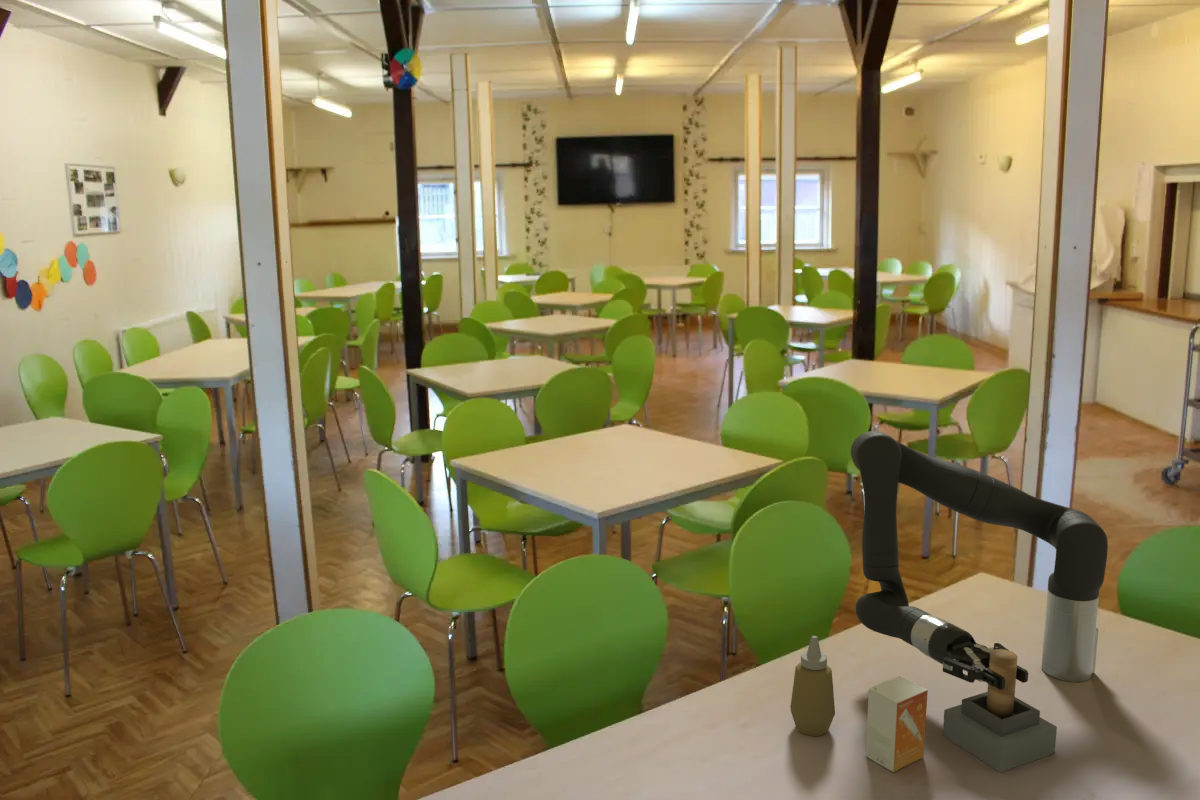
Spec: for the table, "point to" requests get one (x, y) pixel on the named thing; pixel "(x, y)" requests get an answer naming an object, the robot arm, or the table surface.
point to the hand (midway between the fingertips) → (1014, 680)
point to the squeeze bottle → (813, 692)
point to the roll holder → (999, 733)
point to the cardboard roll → (1006, 667)
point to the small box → (896, 723)
